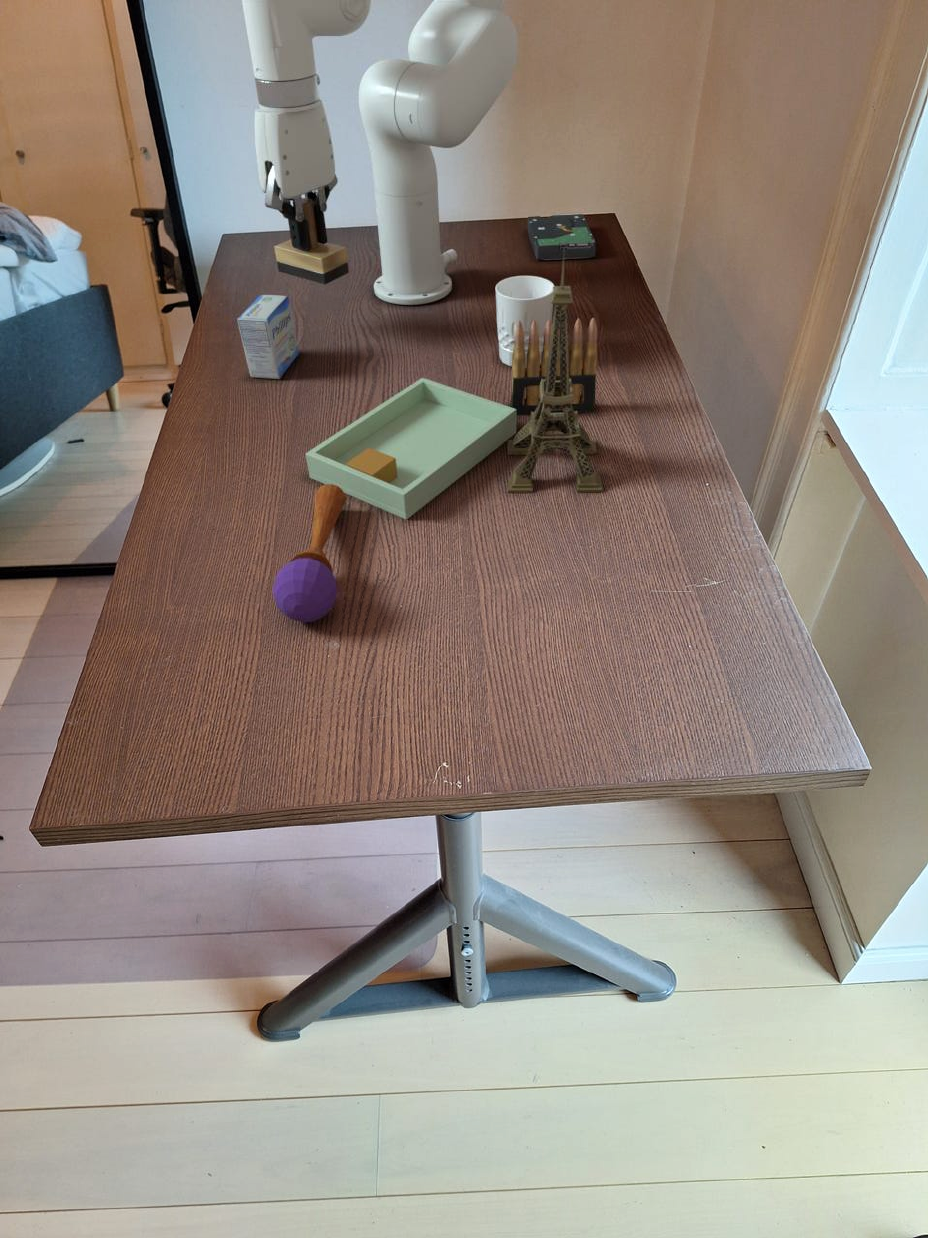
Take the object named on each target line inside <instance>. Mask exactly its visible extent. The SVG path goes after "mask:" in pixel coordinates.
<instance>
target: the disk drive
mask: <svg viewBox="0 0 928 1238" xmlns="http://www.w3.org/2000/svg"><path fill="white" fill-rule="evenodd" d="M587 222H588V221H587V220H586V217H585V216H584V214H583V213H579V214H578V213H577V214H575V213H574V214H554V215H550V216H549V217H546V218H545V217H544V218H543V217H541V216H540V215H535V216H527V224H526V227H527V228H526V230H527V235H528V237H529V240H530V243H531V245H532V250H533V252H534V255H535V258H536V260H537V261H538V260H541V261H543V260H544V261H550V260H563V253H564V260H570V259H589V258H592V257H593V258H594V257H596V252H597V251H596V250H597V245H596V239H595V237H594V235H593V233H592V231H591V229H590V226H589V225H588V223H587ZM564 247H565V250H564Z"/></svg>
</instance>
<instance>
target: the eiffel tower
mask: <svg viewBox="0 0 928 1238" xmlns="http://www.w3.org/2000/svg"><path fill="white" fill-rule="evenodd" d="M564 250H565V247H564ZM550 296H551V303H552V304H553V305H554V309H553V316H552V332H551V339H550V347H549V355H548V362H547V370H546V378H545V379H541V382H540V385H539V398H540V401H539V404H538V407H537V408H536V410H535V412H531V414H530V419H529V421H528V422H527V423H526V424H525V425H524V426H523V427H522V428H521V429H520V430H519V431H518V432H516V433H515V434H514V438H513V439H508V440H507V455H508V456H525V457H524V459H522V460H521V462H520V463H519V464H518V466H517V467H516V468H515V469H514V471H513V473H512V474H511V476H507V493H508V494H514V493H515V494H523V493H524V494H526V493H527V494H529V493H531V494H532V493H533V491H534V490H533V489H534V487H533V486H534V485H533V475H534V472H535V469H536V465H537V464H538V460H539V457H540V455H541V454H543V453H546V452H549V451H553V450H559V451H563V452H565V453H567V454H568V455H570V456H571V458H572V460H573V463H574V467H575V469H576V476H575V481H576V488H577V490H576V491H577V493H603V484H602V477H601V475H598V473H597V472H596V471H597V470H595V468H594V467H593V465H591V463H590V462H589V461H588V458H587V456H586V455H597V453H598V450H597V444H596V439H592V438H590V435H589V433H588V432H587V430H585V428H584V427H583V425H582V424H581V423H580V421H579V417H578V416H579V414H578V413H579V412H577V411H575V412H574V410H573V407H572V404H571V403H573V402H574V398H573V389H572V382H571V379H569V359H570V353H569V354H568V351H569V322H568V305H571V304H573V303H574V300H573V293H572V290H571V285H565V259H564V253H563V259H562V267H561V279H560V285H554V286H553V292H552V293H551V294H550ZM559 341H560V381H555V380H556V371H557V362H558V353H559ZM551 410H563V412H564V413H550V412H551ZM548 432H559V433H548Z"/></svg>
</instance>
